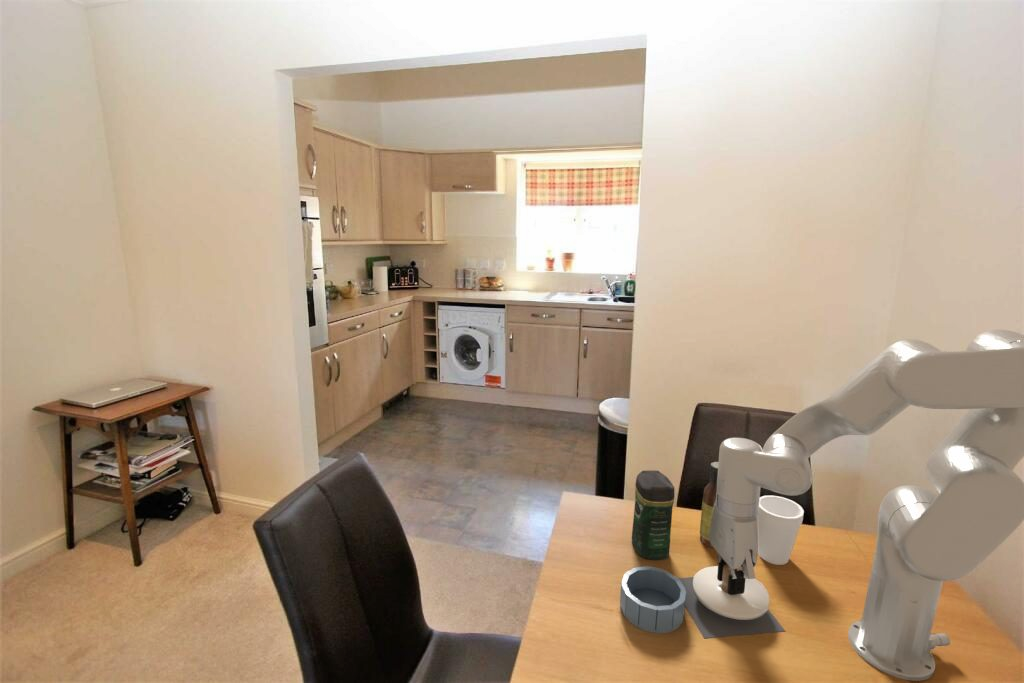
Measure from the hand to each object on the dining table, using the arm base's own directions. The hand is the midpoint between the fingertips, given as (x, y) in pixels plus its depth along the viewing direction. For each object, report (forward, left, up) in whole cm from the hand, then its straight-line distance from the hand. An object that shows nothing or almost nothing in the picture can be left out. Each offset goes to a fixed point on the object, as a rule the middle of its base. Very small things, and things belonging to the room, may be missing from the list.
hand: (730, 585), depth 101 cm
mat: (+1, 0, -5) cm, 5 cm away
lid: (0, 0, -2) cm, 2 cm away
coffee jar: (+9, -19, -5) cm, 22 cm away
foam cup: (-18, -13, -5) cm, 23 cm away
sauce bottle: (-7, -20, -5) cm, 22 cm away
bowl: (+16, 0, -5) cm, 16 cm away
